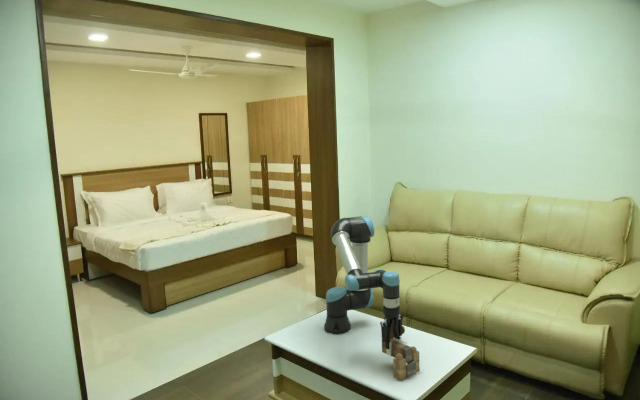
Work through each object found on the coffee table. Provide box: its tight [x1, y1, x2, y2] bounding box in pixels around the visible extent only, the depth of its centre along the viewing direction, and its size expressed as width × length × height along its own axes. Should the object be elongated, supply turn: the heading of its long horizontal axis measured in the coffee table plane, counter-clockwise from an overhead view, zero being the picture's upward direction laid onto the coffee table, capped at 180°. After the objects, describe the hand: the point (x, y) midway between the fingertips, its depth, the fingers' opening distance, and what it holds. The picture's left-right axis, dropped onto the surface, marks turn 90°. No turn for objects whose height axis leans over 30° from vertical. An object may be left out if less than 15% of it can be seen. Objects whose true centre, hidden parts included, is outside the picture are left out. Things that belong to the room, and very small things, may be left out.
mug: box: [391, 325, 406, 339], centre depth 235 cm, size 12×8×9 cm, turn 43°
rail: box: [381, 339, 412, 364], centre depth 205 cm, size 15×4×6 cm, turn 39°
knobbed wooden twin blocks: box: [392, 345, 420, 382], centre depth 201 cm, size 5×14×11 cm, turn 129°
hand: (392, 353), depth 208 cm, fingers closed on rail, 4 cm apart
